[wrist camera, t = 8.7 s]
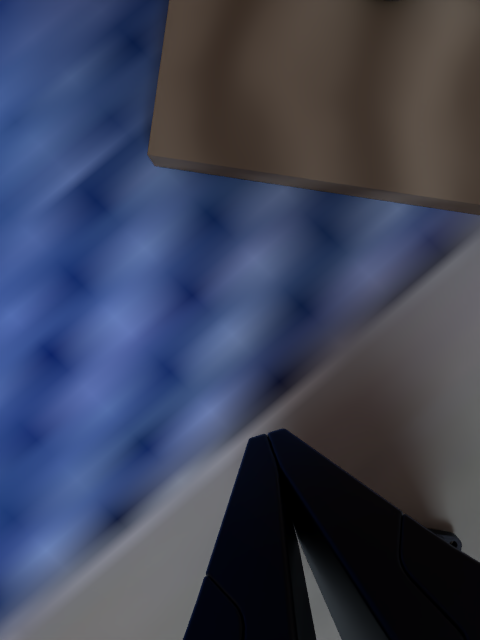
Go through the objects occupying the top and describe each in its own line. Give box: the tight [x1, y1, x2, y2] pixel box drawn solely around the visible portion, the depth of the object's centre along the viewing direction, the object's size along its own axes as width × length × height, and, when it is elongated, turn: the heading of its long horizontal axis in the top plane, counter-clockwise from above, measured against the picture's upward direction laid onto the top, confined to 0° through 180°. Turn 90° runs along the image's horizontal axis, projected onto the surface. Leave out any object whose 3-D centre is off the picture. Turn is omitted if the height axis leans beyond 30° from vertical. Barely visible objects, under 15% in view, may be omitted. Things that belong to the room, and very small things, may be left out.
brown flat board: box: [147, 0, 480, 215], centre depth 19 cm, size 24×18×2 cm
